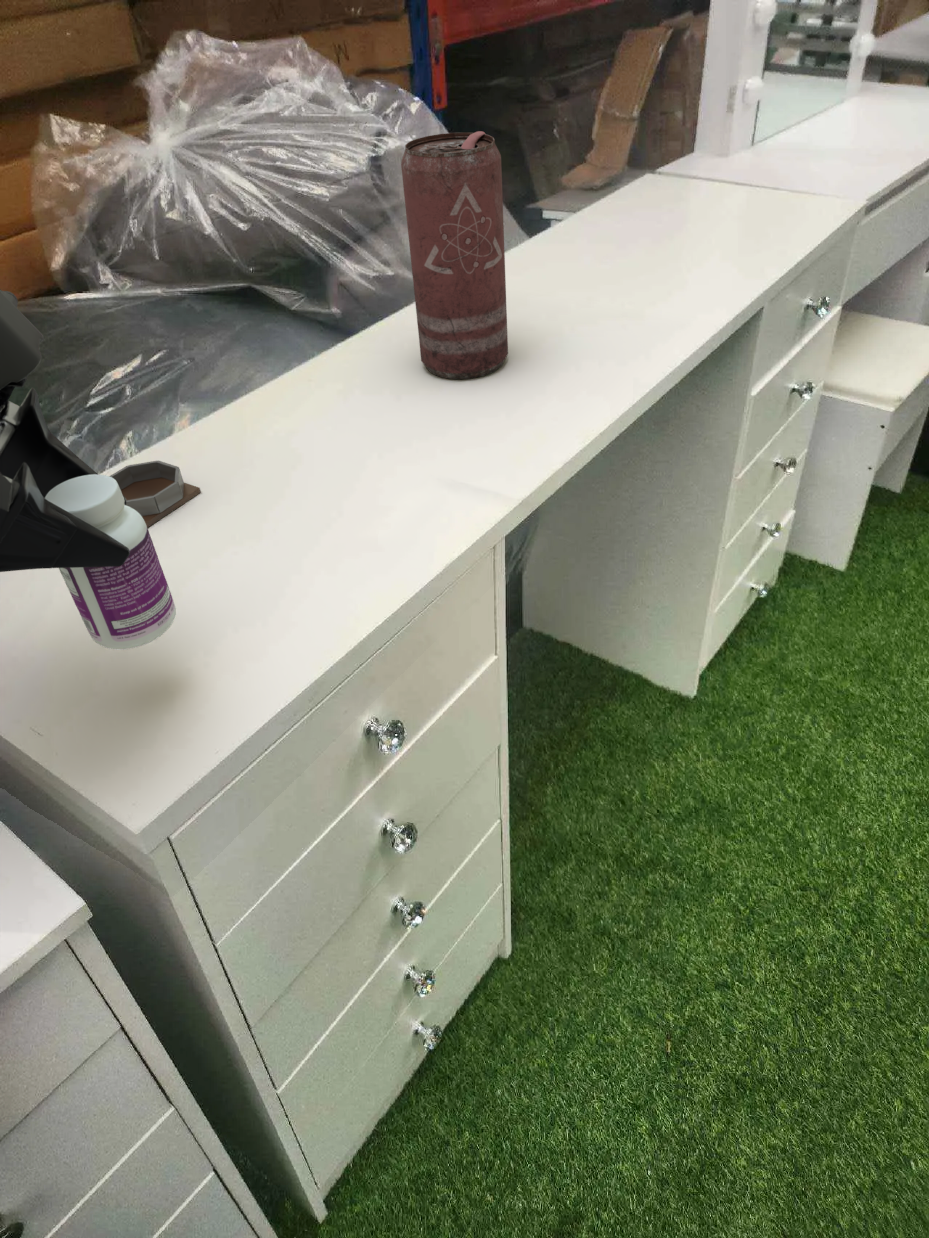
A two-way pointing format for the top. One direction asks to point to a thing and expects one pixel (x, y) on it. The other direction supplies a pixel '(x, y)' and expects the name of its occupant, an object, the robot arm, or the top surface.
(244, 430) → the top surface
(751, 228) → the top surface
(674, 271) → the top surface
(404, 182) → the can
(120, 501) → the pill bottle
